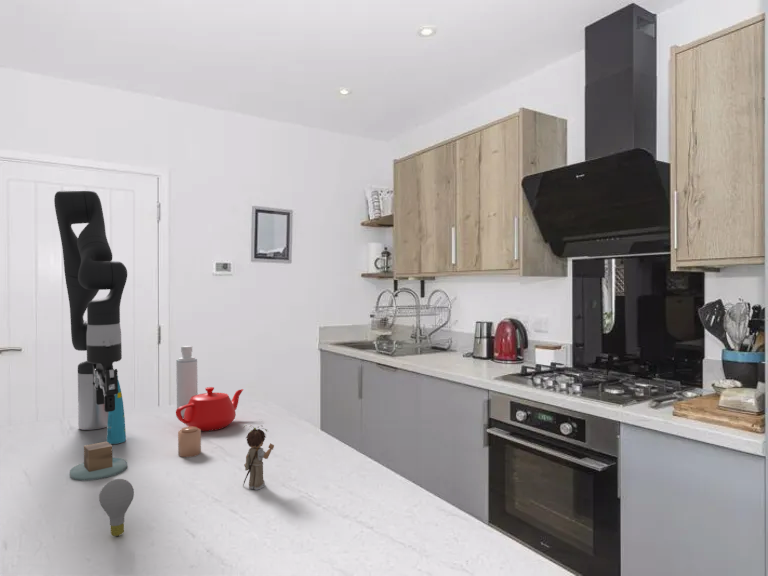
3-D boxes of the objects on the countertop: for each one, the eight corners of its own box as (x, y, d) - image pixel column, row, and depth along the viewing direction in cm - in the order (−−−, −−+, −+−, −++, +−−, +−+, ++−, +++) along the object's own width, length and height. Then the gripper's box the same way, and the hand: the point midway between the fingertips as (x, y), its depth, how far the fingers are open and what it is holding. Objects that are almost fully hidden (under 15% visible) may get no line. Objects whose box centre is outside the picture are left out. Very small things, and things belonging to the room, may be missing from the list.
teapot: (192, 440, 147) (192, 397, 147) (161, 431, 156) (161, 391, 156) (259, 420, 168) (259, 383, 168) (228, 413, 177) (228, 378, 176)
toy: (275, 483, 115) (275, 416, 114) (262, 492, 109) (261, 423, 109) (251, 480, 117) (251, 414, 117) (237, 489, 111) (236, 421, 111)
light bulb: (108, 529, 94) (107, 474, 94) (139, 527, 94) (138, 473, 94) (93, 544, 88) (93, 486, 88) (126, 542, 89) (126, 485, 89)
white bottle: (172, 416, 173) (172, 342, 173) (183, 411, 179) (183, 340, 179) (191, 417, 172) (190, 342, 171) (201, 412, 178) (200, 340, 178)
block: (84, 466, 123) (83, 445, 123) (107, 461, 127) (106, 441, 127) (88, 471, 120) (88, 450, 120) (112, 466, 123) (112, 446, 123)
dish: (65, 469, 124) (65, 465, 124) (120, 458, 132) (119, 454, 132) (75, 484, 115) (75, 480, 115) (133, 471, 123) (133, 467, 123)
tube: (128, 443, 144) (128, 375, 144) (109, 446, 141) (108, 377, 141) (122, 437, 150) (121, 371, 150) (103, 440, 147) (103, 373, 147)
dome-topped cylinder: (175, 453, 136) (174, 428, 136) (196, 448, 139) (196, 424, 139) (182, 458, 131) (182, 433, 131) (204, 453, 135) (204, 428, 135)
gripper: (80, 340, 129) (81, 404, 130) (93, 347, 118) (94, 416, 119) (113, 337, 134) (114, 399, 134) (128, 344, 123) (129, 410, 124)
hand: (105, 407), depth 127 cm, fingers open, 8 cm apart
